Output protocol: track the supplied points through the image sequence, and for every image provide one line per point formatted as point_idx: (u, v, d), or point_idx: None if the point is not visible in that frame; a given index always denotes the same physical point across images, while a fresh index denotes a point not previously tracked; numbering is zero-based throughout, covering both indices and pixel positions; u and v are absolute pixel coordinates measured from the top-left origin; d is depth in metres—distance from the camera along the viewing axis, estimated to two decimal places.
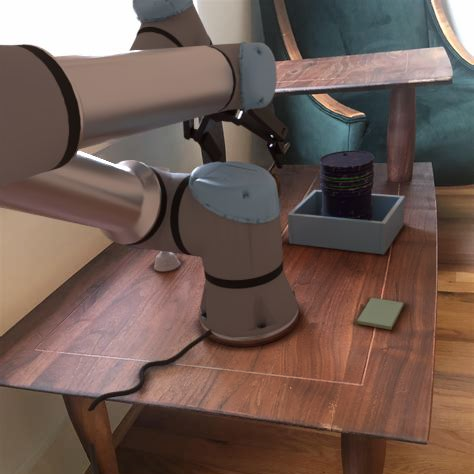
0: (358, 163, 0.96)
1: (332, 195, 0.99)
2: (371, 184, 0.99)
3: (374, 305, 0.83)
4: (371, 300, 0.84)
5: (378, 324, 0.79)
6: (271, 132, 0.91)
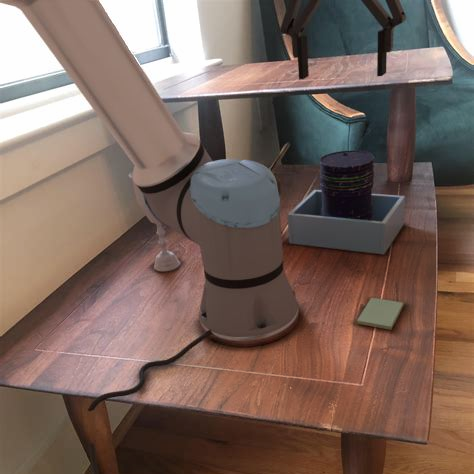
0: (358, 163, 0.96)
1: (332, 195, 0.99)
2: (371, 184, 0.99)
3: (374, 305, 0.83)
4: (371, 300, 0.84)
5: (378, 324, 0.79)
6: (391, 6, 0.82)
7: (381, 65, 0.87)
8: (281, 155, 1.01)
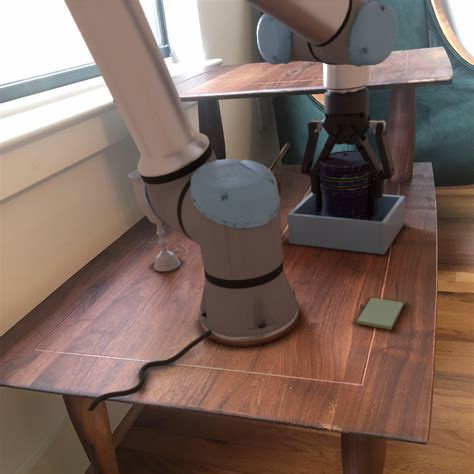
0: (358, 163, 0.96)
1: (332, 195, 0.99)
2: None
3: (374, 305, 0.83)
4: (371, 300, 0.84)
5: (378, 324, 0.79)
6: (384, 164, 0.95)
7: (373, 208, 1.00)
8: (281, 155, 1.01)
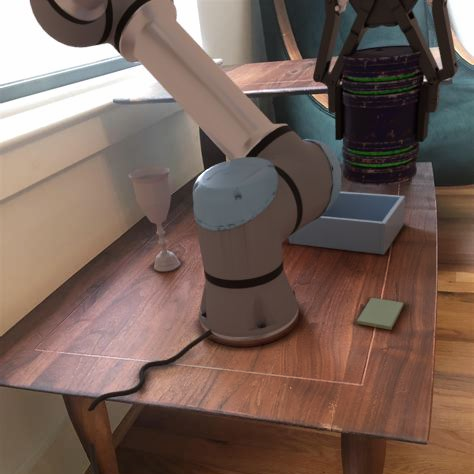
0: (403, 54, 0.63)
1: (362, 108, 0.66)
2: None
3: (374, 305, 0.83)
4: (371, 300, 0.84)
5: (378, 324, 0.79)
6: (444, 53, 0.62)
7: (423, 128, 0.67)
8: None
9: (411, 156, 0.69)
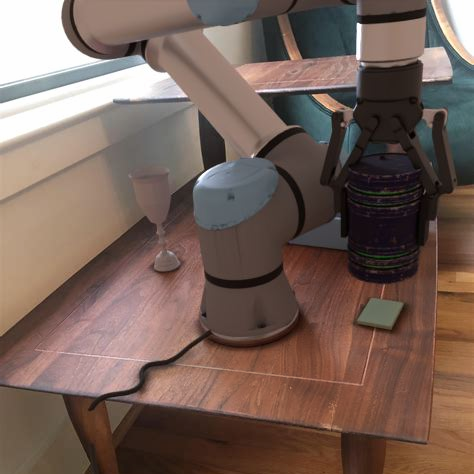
0: (405, 171, 0.67)
1: (365, 216, 0.70)
2: None
3: (374, 305, 0.83)
4: (371, 300, 0.84)
5: (378, 324, 0.79)
6: (443, 172, 0.66)
7: (423, 234, 0.71)
8: None
9: (412, 258, 0.72)
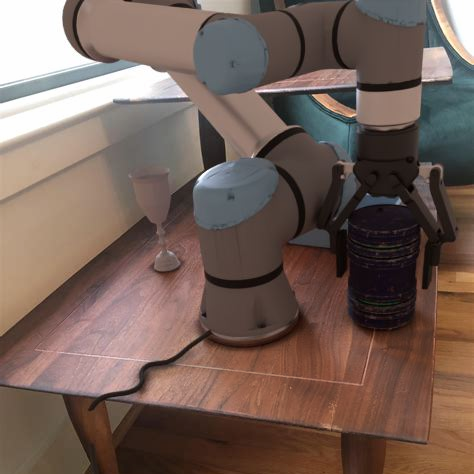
0: (401, 226, 0.71)
1: (364, 267, 0.74)
2: (417, 252, 0.73)
3: None
4: None
5: None
6: (444, 223, 0.69)
7: (427, 279, 0.74)
8: None
9: (409, 305, 0.76)
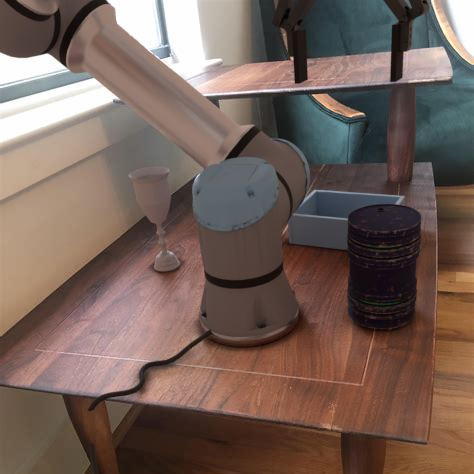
0: (401, 226, 0.71)
1: (364, 267, 0.74)
2: (417, 252, 0.73)
3: None
4: None
5: None
6: None
7: (395, 68, 0.69)
8: None
9: (409, 305, 0.76)
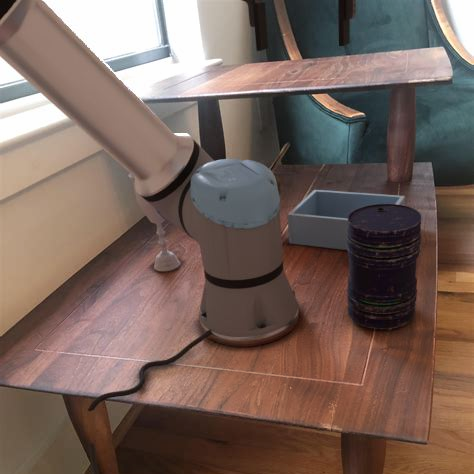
0: (401, 226, 0.71)
1: (364, 267, 0.74)
2: (417, 252, 0.73)
3: None
4: None
5: None
6: None
7: (343, 33, 0.79)
8: (281, 155, 1.01)
9: (409, 305, 0.76)
